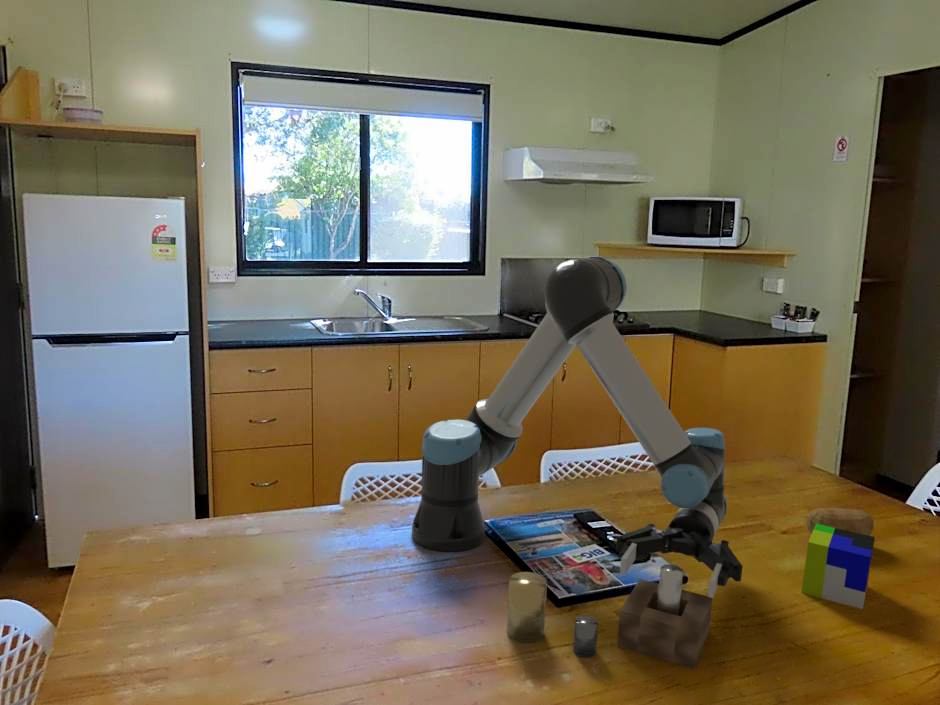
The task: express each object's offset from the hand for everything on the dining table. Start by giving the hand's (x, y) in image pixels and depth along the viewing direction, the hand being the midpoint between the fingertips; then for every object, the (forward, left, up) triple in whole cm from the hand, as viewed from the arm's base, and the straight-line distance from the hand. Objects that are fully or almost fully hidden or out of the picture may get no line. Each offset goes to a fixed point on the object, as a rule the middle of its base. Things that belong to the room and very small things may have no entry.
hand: (665, 577), depth 114 cm
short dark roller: (-10, -7, -12) cm, 17 cm away
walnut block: (0, +3, -12) cm, 12 cm away
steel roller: (0, +3, -12) cm, 12 cm away
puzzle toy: (+24, +36, -12) cm, 45 cm away
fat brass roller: (-20, -7, -12) cm, 24 cm away
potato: (+24, +58, -12) cm, 64 cm away
